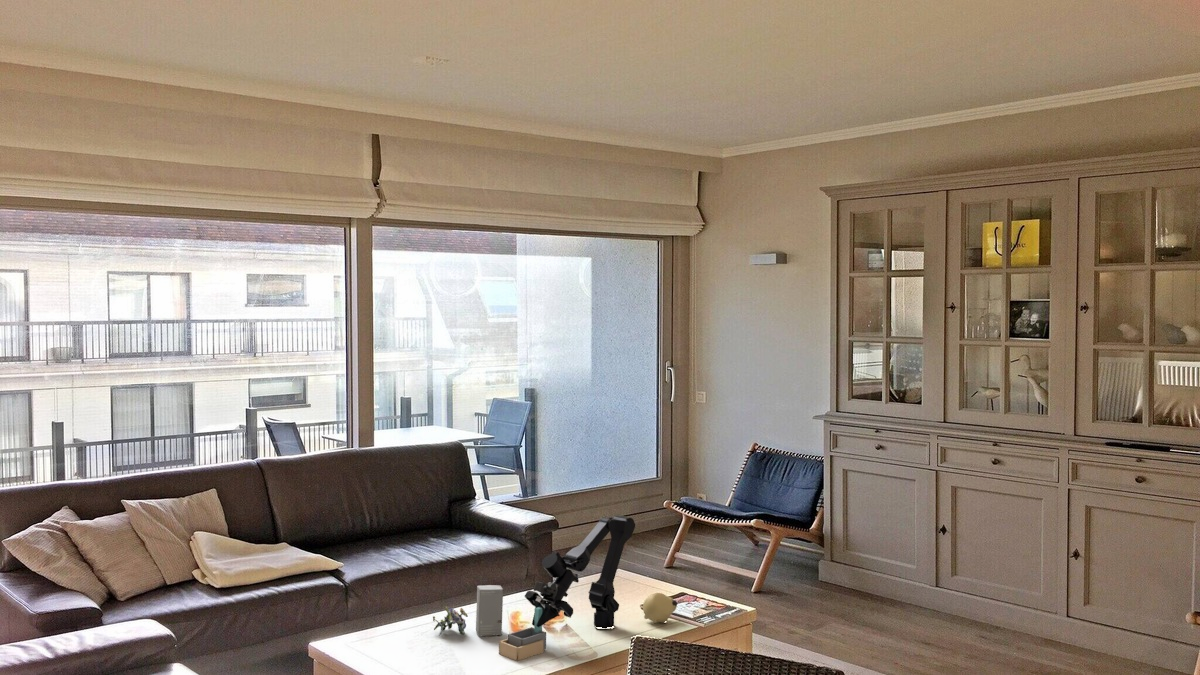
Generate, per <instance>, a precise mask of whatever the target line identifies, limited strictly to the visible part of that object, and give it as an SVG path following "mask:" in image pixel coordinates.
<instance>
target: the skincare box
mask: <svg viewBox="0 0 1200 675" xmlns="http://www.w3.org/2000/svg"><path fill="white" fill-rule="evenodd" d="M503 599H504V588H503V587H502V586H501V584H500V585H499V584H498V585H497V584H496V585H492V584H487V585H477V586H476V610H475V611H476V612H475V613H476V614H475V616H476V617H475V618H476V619H475V632H476V633H477V635H478V638H479V637H481V638H482V637H491V636H501V635H502V632H503V631H502V630H503V628H502V627H503V605H504V603H503V601H504V600H503Z"/></svg>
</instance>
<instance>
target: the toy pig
mask: <svg viewBox="0 0 1200 675" xmlns="http://www.w3.org/2000/svg"><path fill="white" fill-rule="evenodd" d="M677 606H678V602H677V601H676V600H674V599H673V597H671V596H668V595H666V594H664V593H662V592H654V593H652V594H650V595H648V596H647V598H645V600H644V602H643V605H642V610H643V614H644V616H643V618H644V620H650V621H651V622H653V623H655V624H656V623H663V622H665V621H667V622H668V620H669V619H670V617H671V615H672V614H673V613H674V612H675V611H676V610H677Z"/></svg>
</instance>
